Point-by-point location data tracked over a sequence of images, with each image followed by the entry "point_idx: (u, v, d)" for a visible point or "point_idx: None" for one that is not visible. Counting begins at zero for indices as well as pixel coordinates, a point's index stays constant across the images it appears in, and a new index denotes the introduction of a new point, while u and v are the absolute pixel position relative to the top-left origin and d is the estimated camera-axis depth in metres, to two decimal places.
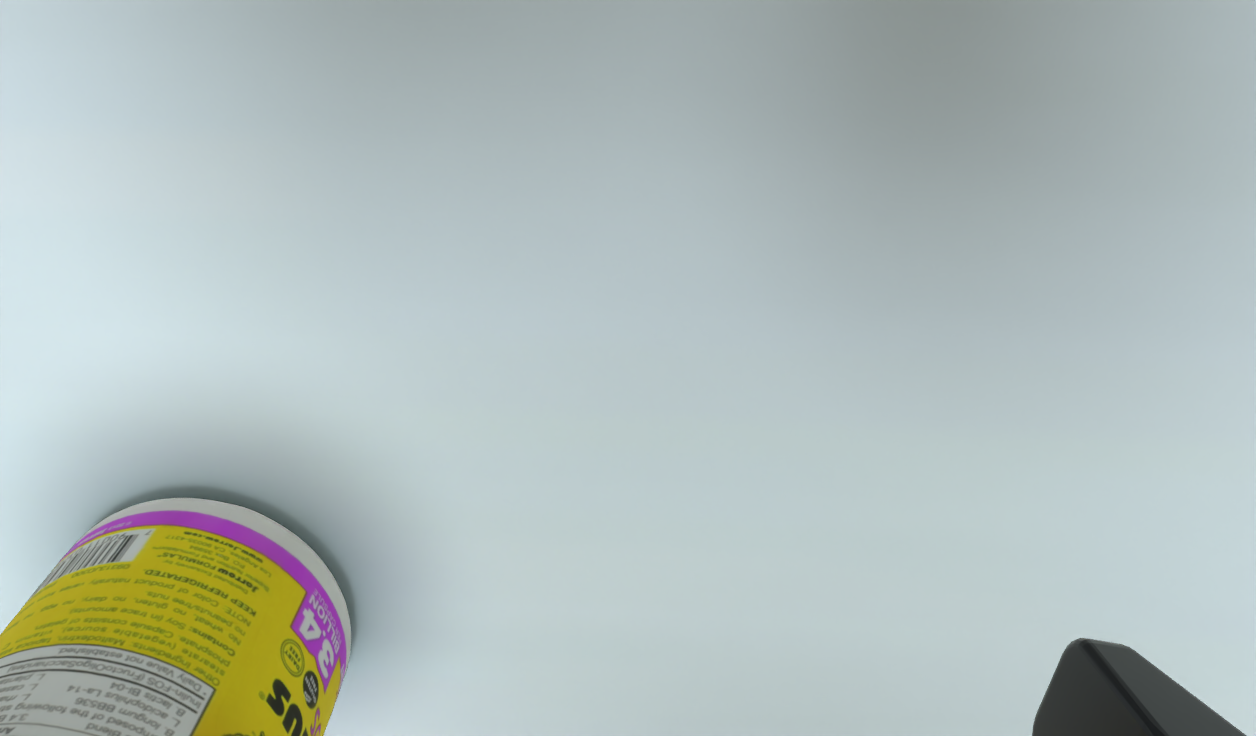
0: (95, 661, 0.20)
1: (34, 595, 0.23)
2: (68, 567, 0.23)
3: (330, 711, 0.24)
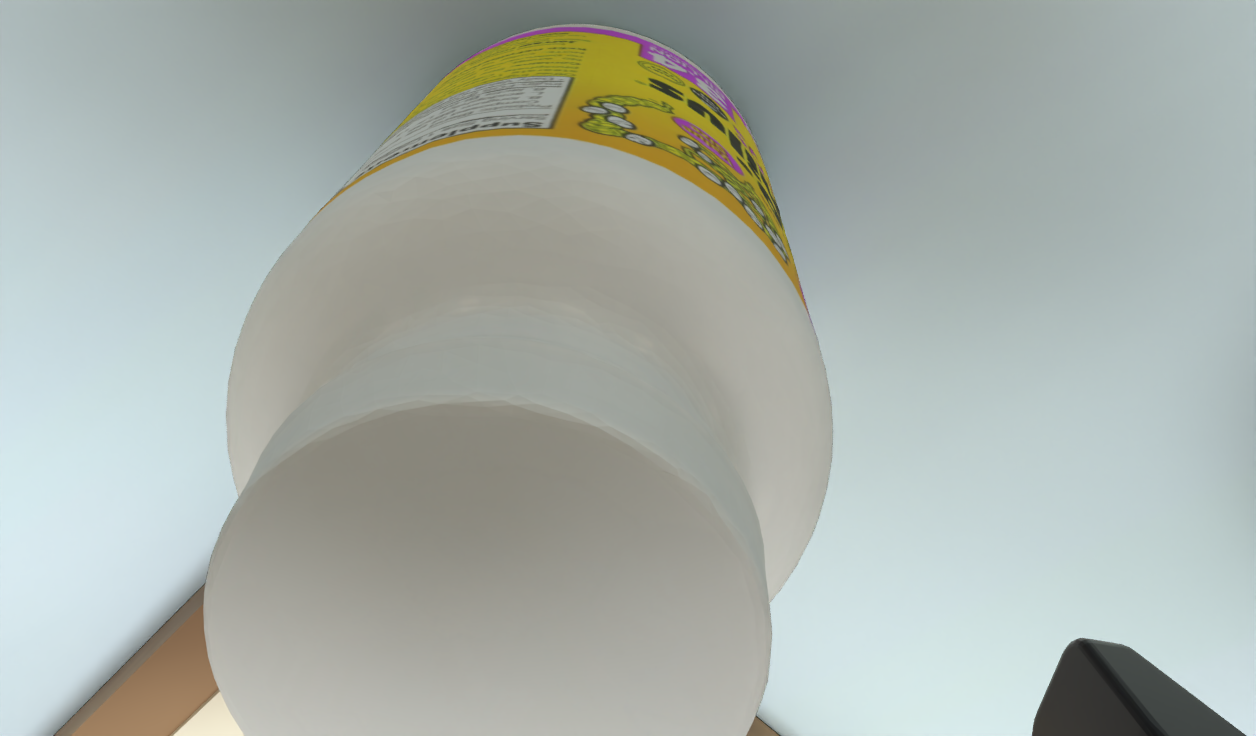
0: (417, 117, 0.15)
1: None
2: None
3: (761, 161, 0.18)
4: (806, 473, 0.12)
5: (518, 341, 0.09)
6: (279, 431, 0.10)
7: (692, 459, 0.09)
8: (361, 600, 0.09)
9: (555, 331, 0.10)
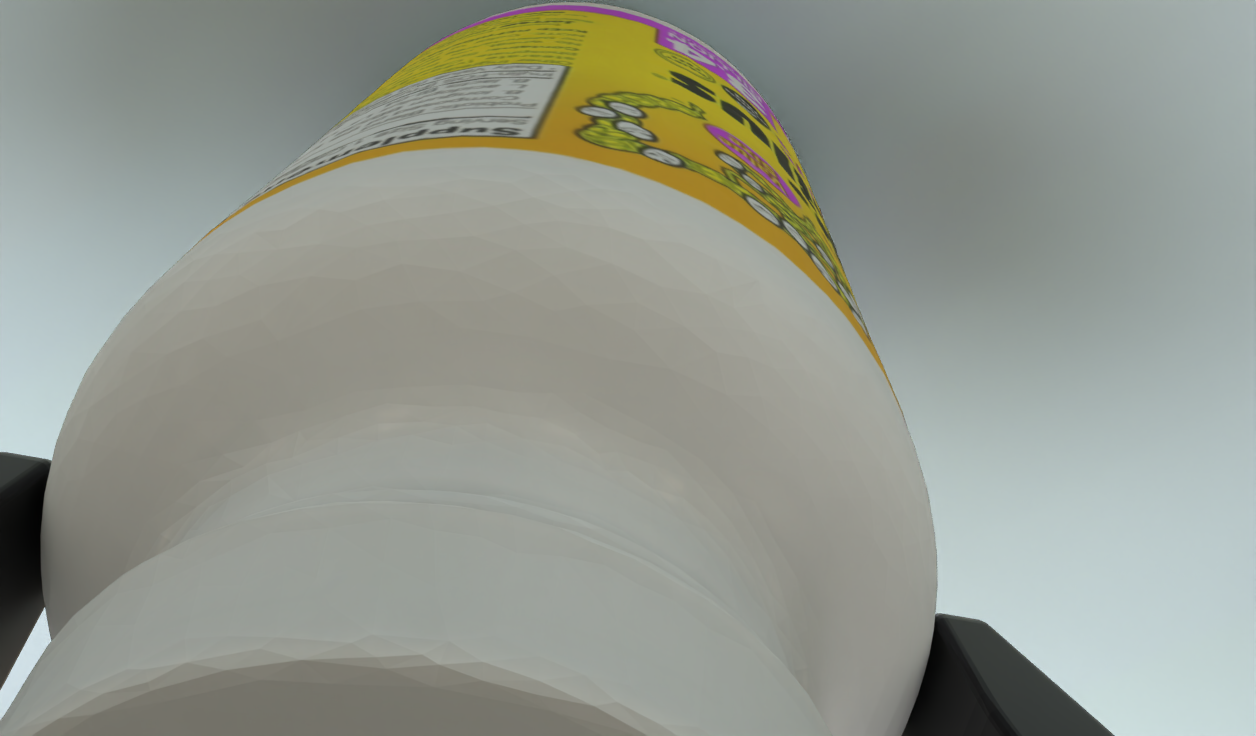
0: (353, 116, 0.11)
1: None
2: None
3: None
4: (903, 665, 0.08)
5: (460, 507, 0.05)
6: (52, 646, 0.06)
7: None
8: None
9: (530, 472, 0.06)
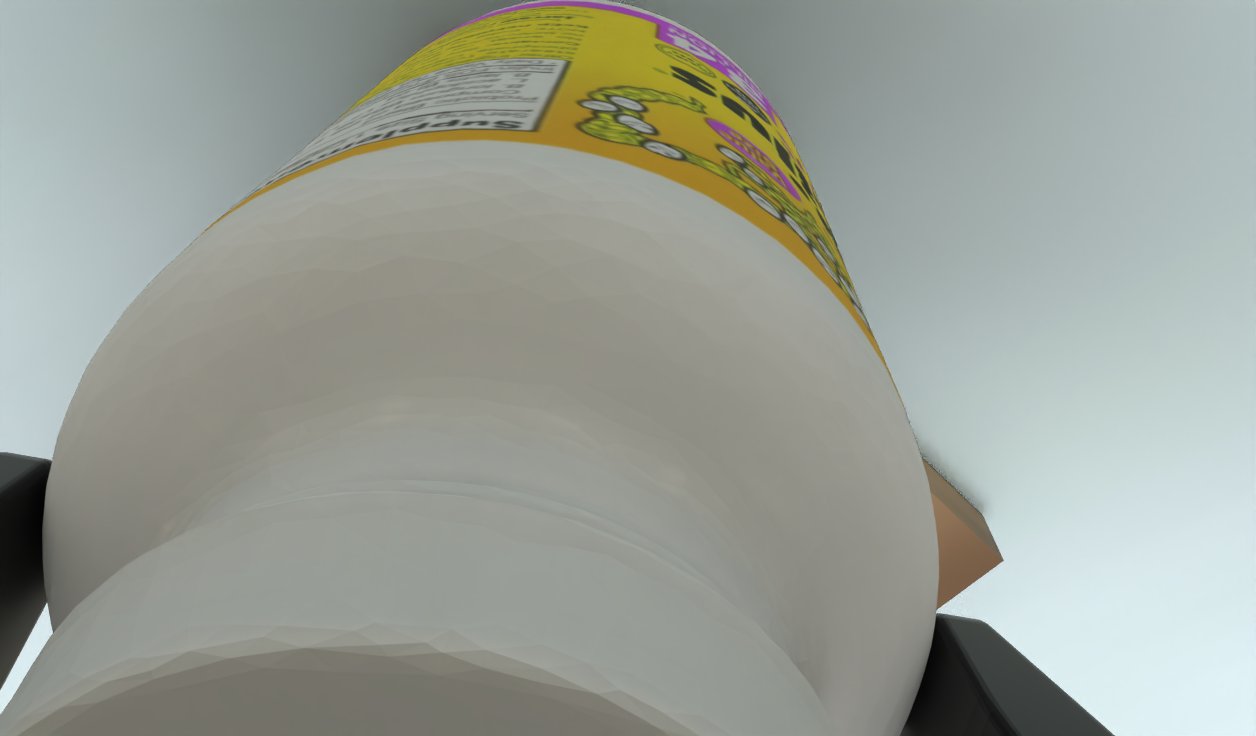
0: (354, 111, 0.11)
1: None
2: None
3: (808, 177, 0.14)
4: (905, 658, 0.08)
5: (465, 499, 0.05)
6: (55, 637, 0.06)
7: (765, 727, 0.05)
8: None
9: (530, 463, 0.06)
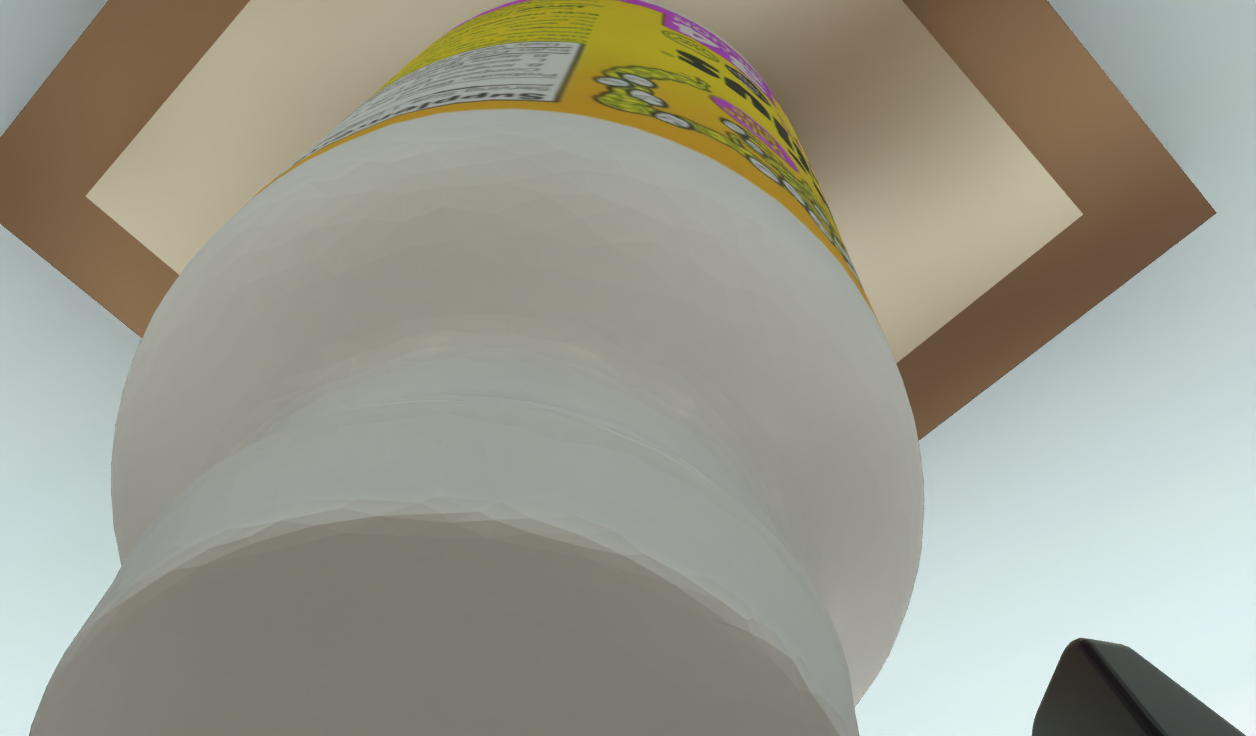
0: (385, 89, 0.11)
1: None
2: None
3: None
4: (893, 576, 0.09)
5: (503, 406, 0.06)
6: (147, 531, 0.06)
7: (765, 597, 0.06)
8: None
9: (559, 387, 0.07)
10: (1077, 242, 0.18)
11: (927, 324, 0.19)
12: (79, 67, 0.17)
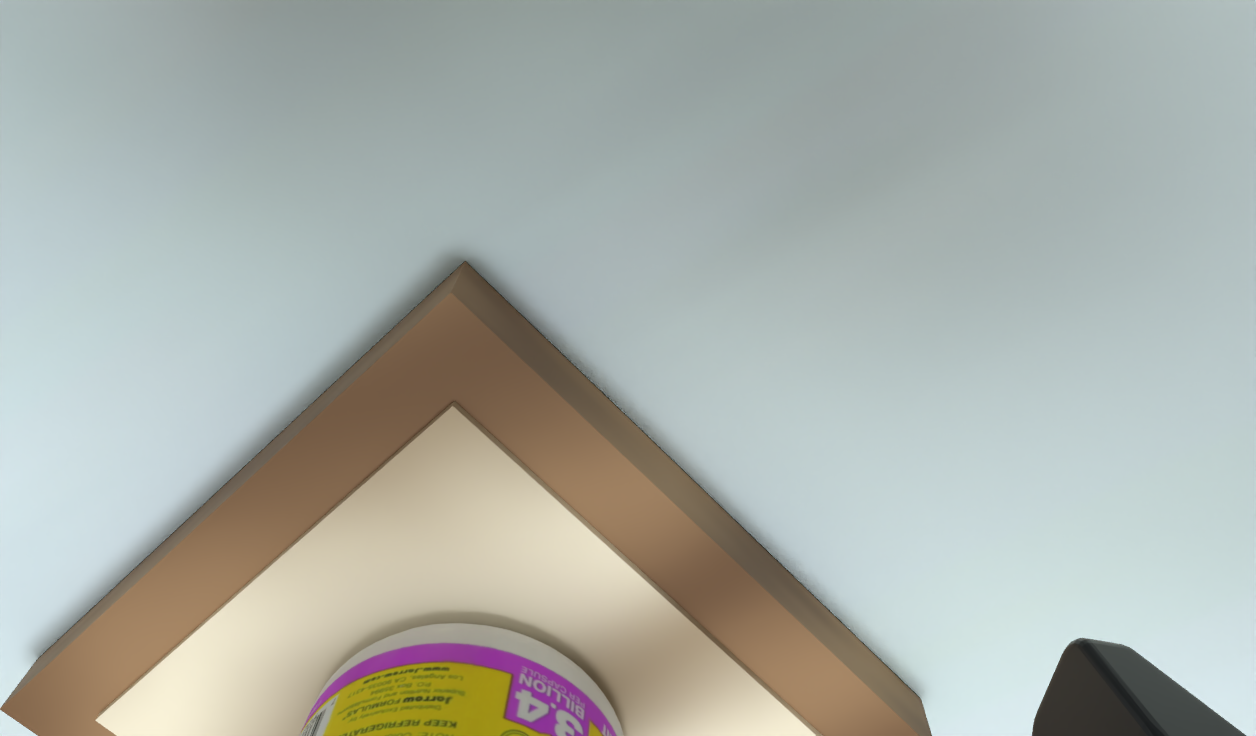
0: None
1: None
2: None
3: None
4: None
5: None
6: None
7: None
8: None
9: None
10: None
11: None
12: (93, 639, 0.24)
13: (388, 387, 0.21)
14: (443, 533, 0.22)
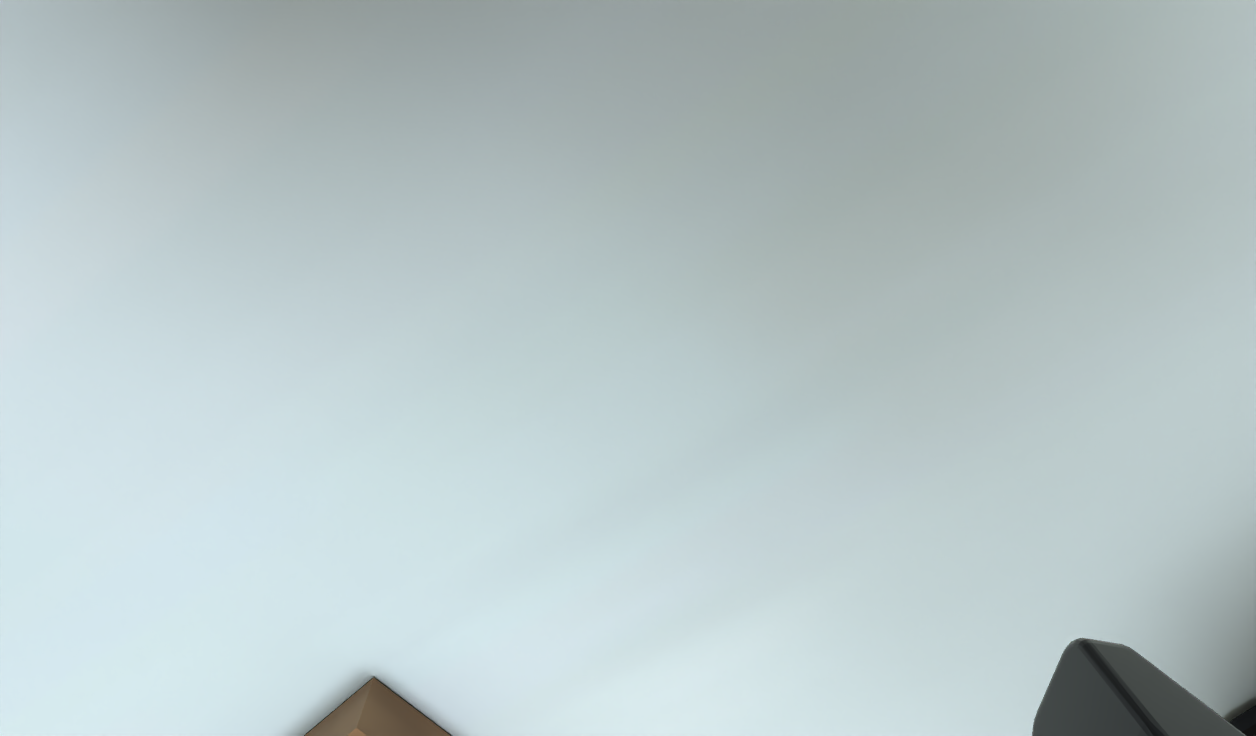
0: None
1: None
2: None
3: None
4: None
5: None
6: None
7: None
8: None
9: None
10: None
11: None
12: None
13: None
14: None
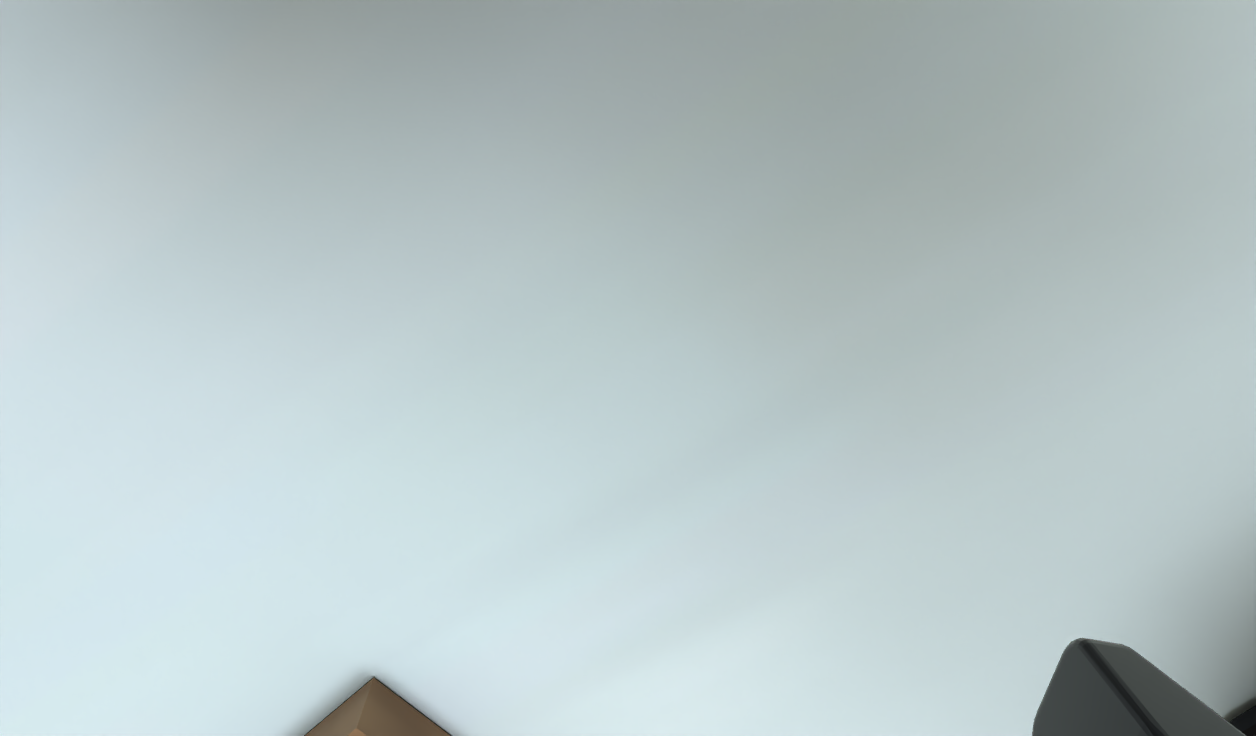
0: None
1: None
2: None
3: None
4: None
5: None
6: None
7: None
8: None
9: None
10: None
11: None
12: None
13: None
14: None
